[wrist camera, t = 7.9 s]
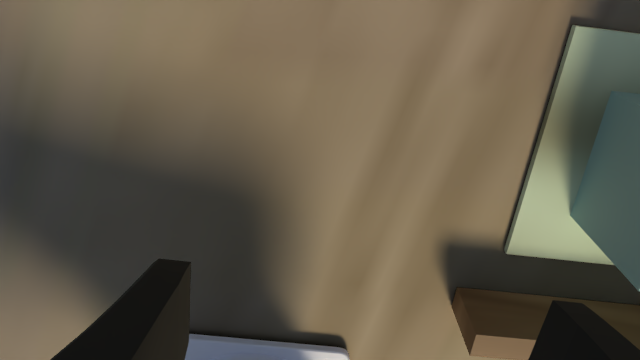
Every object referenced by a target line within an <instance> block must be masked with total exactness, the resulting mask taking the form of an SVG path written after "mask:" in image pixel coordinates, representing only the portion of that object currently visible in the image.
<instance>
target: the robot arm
mask: <svg viewBox="0 0 640 360" xmlns="http://www.w3.org/2000/svg"><path fill="white" fill-rule="evenodd" d="M190 276H191V262H184V261H175V260H165V259H158V260H157V261H156V262H154V263H153V264H152V265H151V266H150V267H149V268H148V269H147V270H146V271H145V272H144V273H143V275H142V276H141V277H140V278H139V279H138V280H137V281H136V282H135V283H134V284H133V285H132V286H131V287H130V288H129V289H128V290H127V291H126V292H125V293H124V294H123V295H122V296H121V297H120V298H119V299H118V300H117V301H116V302H115V303H114V304H113V305H112V306H111V307H110V308H109V309H107V310H106V311H105V312H104V313H103V314H102V315H101V316H100V317H99V318H98V319H97V320H96V321H95V322H94V323H92V324H91V325H90V326H89V327H88V328H87V329H86V330H85V331H84V332H83V333H81V334H80V335H79V336H78V337H77V338H76V339H74V340H73V341H72V342H71V343H70V344H68V345H67V346H66V347H65V348H64V349H63V350H61V351H60V352H59V353H58V354H57V355H55V356H54V357H53V358H52V359H51V360H349V353H348V352H347V350H345V349H344V348H340V347H331V346H320V345H309V344H298V343H287V342H276V341H265V340H254V339H242V338H231V337H220V336H209V335H198V334H189V317H190ZM528 360H640V350H639V349H638V348H637V347H636V346H635V345H633V344H632V343H631V342H630V341H629V340H628V339H626V338H625V337H624V336H623V335H622V334H620V333H619V332H618V331H617V330H616V329H614V328H613V327H612V326H611V325H610V324H608V323H607V322H606V321H605V320H604V319H602V318H601V317H600V316H599V315H597V314H596V313H595V312H594V311H592V310H591V309H590V308H588V307H587V306H586V305H584V304H583V303H577V302H567V301H557V300H552V303H551V305H550V308H549V310H548V313H547V315H546V318H545V320H544V323H543V325H542V327H541V330H540V332H539V335H538V337H537V340H536V342H535V345H534V347H533V350H532V352H531V354H530V357H529V359H528Z"/></svg>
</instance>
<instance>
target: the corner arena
mask: <svg viewBox="0 0 640 360" xmlns="http://www.w3.org/2000/svg"><path fill="white" fill-rule="evenodd" d="M611 91H618V92H627V93H636V94H640V34H639V33H632V32H624V31H616V30H609V29H601V28H594V27H586V26H578V25H572V27H571V31H570V34H569V37H568V41H567V44H566V47H565V51H564V54H563V57H562V60H561V64H560V67H559V70H558V74H557V77H556V80H555V84H554V87H553V90H552V93H551V97H550V100H549V103H548V107H547V110H546V113H545V116H544V120H543V123H542V126H541V130H540V133H539V136H538V140H537V143H536V146H535V149H534V153H533V156H532V159H531V163H530V166H529V169H528V173H527V176H526V179H525V182H524V186H523V189H522V192H521V196H520V199H519V202H518V206H517V209H516V212H515V215H514V219H513V222H512V225H511V229H510V232H509V235H508V239H507V242H506V245H505V248H504V251H505V253H506V254H511V255H521V256H531V257H540V258H550V259H560V260H569V261H579V262H589V263H599V264H608V265H614V264H613V263H612V261H611V260H610V259H609V258H608V257H607V256H606V255H605V254H604V253H603V251H602V250H601V249H600V248H599V247H598V246H597V245H596V244H595V243H594V242H593V240H592V239H591V238H590V237H589V236H588V235H587V234H586V233H585V232H584V230H583V229H582V228H581V227H580V226H579V225H578V224H577V223H576V222H575V221H574V219H573V218H572V217H571V216H570V214H571V211H572V208H573V205H574V202H575V199H576V196H577V193H578V190H579V187H580V184H581V181H582V178H583V175H584V172H585V169H586V166H587V163H588V160H589V157H590V154H591V151H592V148H593V145H594V142H595V139H596V136H597V133H598V130H599V127H600V124H601V121H602V118H603V115H604V112H605V109H606V106H607V103H608V100H609V97H610V94H611ZM552 300H557V301H567V302H577V303H583V304H584V305H586V306H587V307H588V308H590V309H591V310H592V311H594V312H595V313H596V314H597V315H599V316H600V317H601V318H602V319H604V320H605V321H606V322H607V323H608V324H610V325H611V326H612V327H613V328H614V329H616V330H617V331H618V332H619V333H620V334H622V335H623V336H624V337H625V338H626V339H628V340H629V341H630V342H631V343H632V344H633V345H635V346H636V347H637V348H638V349H639V350H640V305H632V304H622V303H611V302H601V301H591V300H581V299H571V298H561V297H551V296H541V295H530V294H520V293H510V292H500V291H490V290H480V289H470V288H459V287H457V289H456V293H455V296H454V300H453V304H452V309H453V312H454V314H455V317H456V320H457V322H458V325H459V328H460V330H461V333H462V336H463V338H464V341H465V344H466V346H467V349H468V352H469V355H470V356H479V357H490V358H502V359H513V360H528V359H529V357H530V354H531V352H532V350H533V347H534V345H535V342H536V340H537V337H538V335H539V332H540V330H541V327H542V325H543V323H544V320H545V318H546V315H547V313H548V310H549V308H550V305H551V303H552Z"/></svg>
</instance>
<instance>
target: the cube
mask: <svg viewBox="0 0 640 360" xmlns="http://www.w3.org/2000/svg"><path fill="white" fill-rule="evenodd" d="M570 216H571V217H572V218H573V219H574V221H575V222H576V223H577V224H578V225H579V226H580V227H581V228H582V229H583V230H584V232H585V233H586V234H587V235H588V236H589V237H590V238H591V239H592V240H593V242H594V243H595V244H596V245H597V246H598V247H599V248H600V249H601V250H602V251H603V253H604V254H605V255H606V256H607V257H608V258H609V259H610V260H611V261H612V263H613V264H614V265H615V266H616V267H617V268H618V269H619V270H620V271H621V272H622V274H623V275H624V276H625V277H626V278H627V279H628V280H629V281H630V282H631V284H632V285H633V286H634V287H635V288H636V289H637V290H638V291H640V94H636V93H627V92H618V91H611V94H610V97H609V100H608V103H607V106H606V109H605V112H604V115H603V118H602V121H601V124H600V127H599V130H598V133H597V136H596V139H595V142H594V145H593V148H592V151H591V154H590V157H589V160H588V163H587V166H586V169H585V172H584V175H583V178H582V181H581V184H580V187H579V190H578V193H577V196H576V199H575V202H574V205H573V208H572V211H571V214H570Z"/></svg>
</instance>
